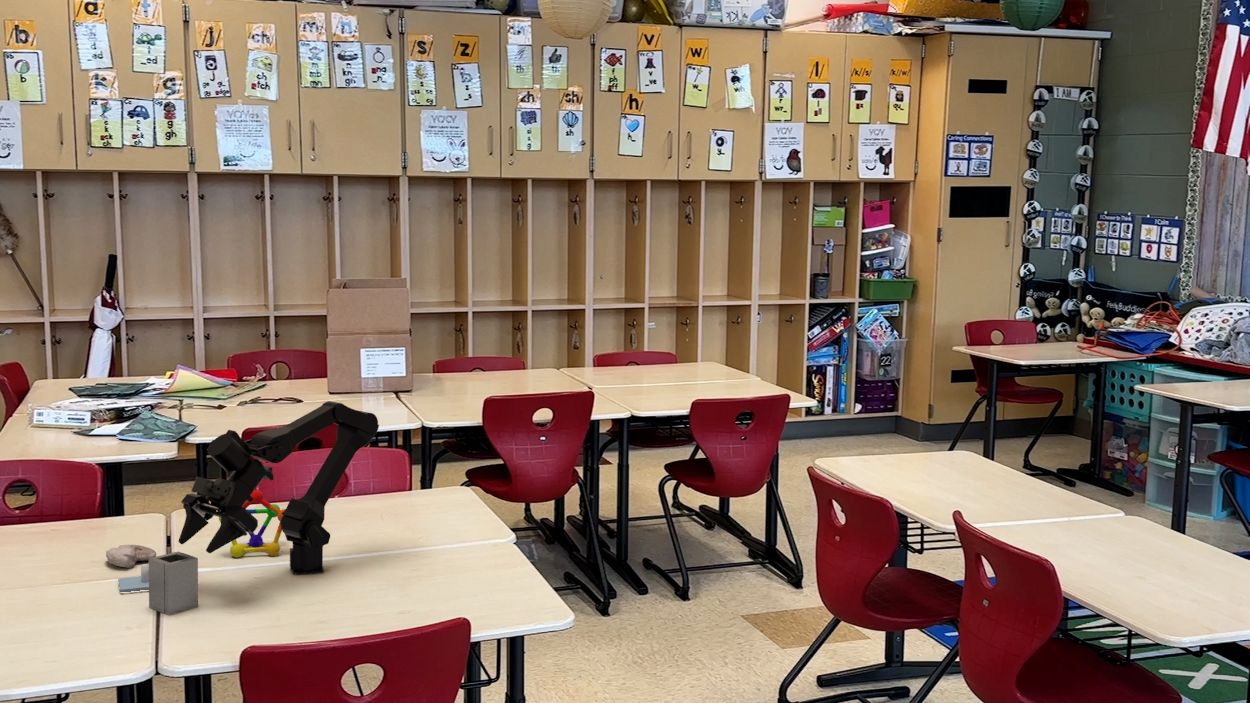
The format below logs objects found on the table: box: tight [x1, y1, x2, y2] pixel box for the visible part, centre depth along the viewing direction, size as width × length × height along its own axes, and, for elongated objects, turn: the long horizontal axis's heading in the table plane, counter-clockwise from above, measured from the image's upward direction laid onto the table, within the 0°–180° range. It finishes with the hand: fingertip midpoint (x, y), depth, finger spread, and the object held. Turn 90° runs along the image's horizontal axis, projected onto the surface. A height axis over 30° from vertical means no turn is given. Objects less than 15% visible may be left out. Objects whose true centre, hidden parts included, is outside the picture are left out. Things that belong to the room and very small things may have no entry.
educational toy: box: [218, 489, 286, 558], centre depth 269 cm, size 16×13×15 cm
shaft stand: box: [117, 563, 149, 593], centre depth 243 cm, size 10×8×4 cm
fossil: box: [105, 544, 157, 569], centre depth 259 cm, size 12×4×10 cm
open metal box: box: [148, 551, 199, 616], centre depth 231 cm, size 7×7×10 cm
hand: (193, 547), depth 234 cm, fingers open, 9 cm apart
